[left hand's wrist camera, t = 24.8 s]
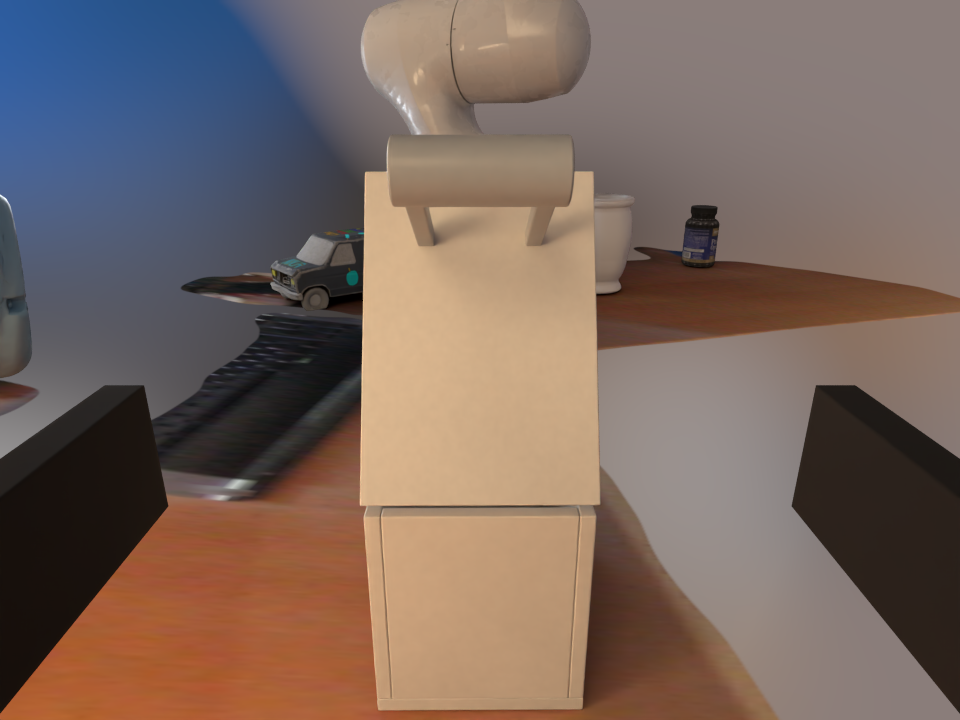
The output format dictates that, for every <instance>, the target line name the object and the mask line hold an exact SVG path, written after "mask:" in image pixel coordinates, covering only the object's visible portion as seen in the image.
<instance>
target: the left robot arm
mask: <svg viewBox="0 0 960 720" xmlns="http://www.w3.org/2000/svg"><path fill="white" fill-rule="evenodd" d="M25 297H26V294H25V287H24V277H23V270H22V264H21V257H20V252H19V246H18V240H17V235H16V230H15V224H14V220H13V215H12V211H11V207H10V205H9V203H8V202H7V199H6V198H4V197H3V196H1V195H0V378H4V377H9V376H12V375H15V374H17V373H19V372H20V371H22V370H23V369H24V368H25V367H26V366H27V364H28V363H29V361H30V359H31V355H32V341H31V330H30V321H29V314H28V308H27V303H26V301H25ZM167 507H168V502H167V497H166V492H165V487H164V482H163V477H162V472H161V467H160V462H159V457H158V453H157V448H156V443H155V438H154V433H153V428H152V423H151V418H150V413H149V408H148V403H147V398H146V393H145V388H144V386H143V385H105V386H103V387H102V388H100V389H99V390H98V391H96V392H95V393H93V394H92V395H91V396H89V397H88V398H86V399H85V400H83V401H82V402H80V403H79V404H78V405H76V406H75V407H73V408H72V409H71V410H69V411H68V412H66V413H65V414H63V415H62V416H61V417H59V418H58V419H56V420H55V421H53V422H52V423H51V424H49V425H48V426H46V427H45V428H44V429H42V430H41V431H39V432H38V433H36V434H35V435H34V436H32V437H31V438H29V439H28V440H26V441H25V442H24V443H22V444H21V445H19V446H18V447H16V448H15V449H14V450H12V451H11V452H9V453H8V454H7V455H5V456H4V457H2V458H1V459H0V713H1V712H2V711H3V709H4V708H5V707H6V706H7V705H8V703H9V702H10V701H11V700H12V698H13V697H14V696H15V695H16V693H17V692H18V691H19V690H20V688H21V687H22V686H23V685H24V684H25V682H26V681H27V680H28V679H29V677H30V676H31V675H32V674H33V672H34V671H35V670H36V669H37V668H38V666H39V665H40V664H41V663H42V661H43V660H44V659H45V658H46V656H47V655H48V654H49V653H50V651H51V650H52V649H53V648H54V647H55V645H56V644H57V643H58V642H59V640H60V639H61V638H62V637H63V635H64V634H65V633H66V632H67V631H68V629H69V628H70V627H71V626H72V624H73V623H74V622H75V621H76V619H77V618H78V617H79V616H80V614H81V613H82V612H83V611H84V610H85V608H86V607H87V606H88V605H89V603H90V602H91V601H92V600H93V598H94V597H95V596H96V595H97V594H98V592H99V591H100V590H101V589H102V587H103V586H104V585H105V584H106V582H107V581H108V580H109V579H110V577H111V576H112V575H113V574H114V573H115V571H116V570H117V569H118V568H119V566H120V565H121V564H122V563H123V561H124V560H125V559H126V558H127V557H128V555H129V554H130V553H131V552H132V550H133V549H134V548H135V547H136V545H137V544H138V543H139V542H140V541H141V539H142V538H143V537H144V536H145V534H146V533H147V532H148V531H149V529H150V528H151V527H152V526H153V524H154V523H155V522H156V521H157V520H158V518H159V517H160V516H161V515H162V513H163V512H164V511H165V510H166V508H167ZM792 507H793V508H794V510H795V511H796V512H797V513H798V515H799V516H800V517H801V518H802V520H803V521H804V522H805V523H806V524H807V526H808V527H809V528H810V529H811V531H812V532H813V533H814V534H815V536H816V537H817V538H818V539H819V541H820V542H821V543H822V544H823V545H824V547H825V548H826V549H827V550H828V552H829V553H830V554H831V555H832V557H833V558H834V559H835V560H836V561H837V563H838V564H839V565H840V566H841V568H842V569H843V570H844V571H845V573H846V574H847V575H848V576H849V577H850V579H851V580H852V581H853V582H854V584H855V585H856V586H857V587H858V589H859V590H860V591H861V592H862V593H863V595H864V596H865V597H866V598H867V600H868V601H869V602H870V603H871V605H872V606H873V607H874V608H875V610H876V611H877V612H878V613H879V614H880V616H881V617H882V618H883V619H884V621H885V622H886V623H887V624H888V626H889V627H890V628H891V629H892V631H893V632H894V633H895V634H896V635H897V637H898V638H899V639H900V640H901V642H902V643H903V644H904V645H905V647H906V648H907V649H908V650H909V651H910V653H911V654H912V655H913V656H914V658H915V659H916V660H917V661H918V663H919V664H920V665H921V666H922V667H923V669H924V670H925V671H926V672H927V674H928V675H929V676H930V677H931V679H932V680H933V681H934V682H935V684H936V685H937V686H938V687H939V688H940V690H941V691H942V692H943V693H944V695H945V696H946V697H947V698H948V700H949V701H950V702H951V703H952V704H953V706H954V707H955V708H956V709H957V711H958V712H959V713H960V459H959V458H958V457H956V456H955V455H954V454H952V453H951V452H949V451H948V450H946V449H945V448H944V447H942V446H941V445H939V444H938V443H936V442H935V441H933V440H932V439H931V438H929V437H928V436H926V435H925V434H924V433H922V432H921V431H919V430H918V429H917V428H915V427H914V426H912V425H911V424H909V423H908V422H907V421H905V420H904V419H902V418H901V417H899V416H898V415H897V414H895V413H894V412H892V411H891V410H889V409H888V408H887V407H885V406H884V405H882V404H881V403H880V402H878V401H877V400H875V399H874V398H872V397H871V396H870V395H868V394H867V393H865V392H864V391H862V390H861V389H860V388H858V387H857V386H855V385H816V388H815V393H814V398H813V403H812V408H811V413H810V418H809V423H808V428H807V433H806V438H805V443H804V448H803V453H802V458H801V462H800V467H799V472H798V477H797V482H796V487H795V492H794V497H793V502H792Z"/></svg>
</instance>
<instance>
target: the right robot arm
mask: <svg viewBox="0 0 960 720" xmlns="http://www.w3.org/2000/svg"><path fill="white" fill-rule="evenodd" d="M590 48H591V35H590V28H589V24H588V20H587V17H586V15H585V13H584V11H583V9H582V7H581V5H580V4H579V3H578V1H577V0H398V1H395V2H392V3H389V4H386V5H384V6H381V7H379V8H376V9H375V10H373V11H372V13H371V14H370V15H369V17H368V19H367V21H366V23H365V26H364V29H363V32H362V38H361V58H362V63H363V66H364V69H365V72H366V74H367V77H368V79H369V80H370V82H371V84H372V85H373V87H374V88H375V89H376V90H377V91H378V92H379V93H380V94H381V95H382V96H383V97H384V98H386V99H387V100H388V101H389V102H390V103H391V104H392V105H393V106H394V107H395V108H396V110H397V111H398V112H399V113H400V115H401V116H402V118H403V119H404V121H405V122H406V124H407V126H408V128H409V130H410V132H411V134H412V135H484V133H483V132H482V131H481V129H480V128H479V126H478V124H477V121H476V118H475V114H474V104H475V103H529V102H534V101H539V100H543V99H548V98H552V97H555V96H559V95H563V94H567V93H569V92H570V91H571V90H572V89H573V88H574V87H575V85H576V84H577V83H578V81H579V80H580V78H581V77H582V75H583V73H584V70H585V68H586V66H587V63H588V59H589V54H590Z"/></svg>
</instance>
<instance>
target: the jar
mask: <svg viewBox="0 0 960 720" xmlns="http://www.w3.org/2000/svg"><path fill="white" fill-rule="evenodd" d="M634 201H635V200H634V197H632V196H628V195H621V194H609V193H594V216H595V263H596V294H607V293H613V292H617V291H619V290H620V289H621V284H620V283H619V280H618V279H619V278H620V277H621V275H622V273H623V271H624V268H625V265H626V262H627V256H628V253H629V249H630V245H631V239H632V215H631V210H630V207H631V205H633V204H634Z"/></svg>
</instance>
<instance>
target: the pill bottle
mask: <svg viewBox="0 0 960 720" xmlns="http://www.w3.org/2000/svg"><path fill="white" fill-rule="evenodd" d="M691 214H692V217H691V218H690V219H688V220H687V221H686V225H685V234H684V243H683V251H682V263H683V264H685V265H688V266H694V267H710V266H713V265H714V262H715V254H716V246H717V238H718V230H719V222H718V221H717V220H716V219H715V215H716V214H717V207H716V206H708V205H695V206H692V207H691Z"/></svg>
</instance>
